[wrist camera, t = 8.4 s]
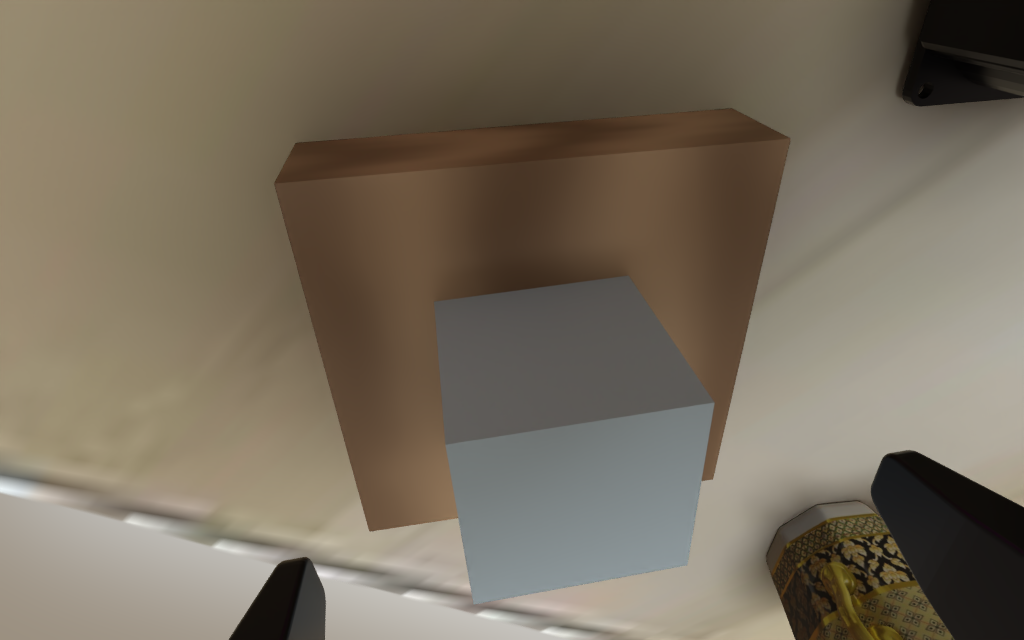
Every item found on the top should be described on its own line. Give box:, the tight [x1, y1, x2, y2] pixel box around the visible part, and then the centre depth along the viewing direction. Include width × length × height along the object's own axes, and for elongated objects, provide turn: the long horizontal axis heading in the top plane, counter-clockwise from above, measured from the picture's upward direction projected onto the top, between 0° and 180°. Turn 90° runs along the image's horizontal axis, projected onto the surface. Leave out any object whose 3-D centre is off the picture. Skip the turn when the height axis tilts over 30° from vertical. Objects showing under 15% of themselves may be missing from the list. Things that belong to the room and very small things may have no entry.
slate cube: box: [434, 276, 715, 604], centre depth 17 cm, size 6×6×6 cm
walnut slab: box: [274, 108, 790, 532], centre depth 21 cm, size 14×14×4 cm
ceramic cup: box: [767, 501, 954, 640], centre depth 29 cm, size 13×10×10 cm
